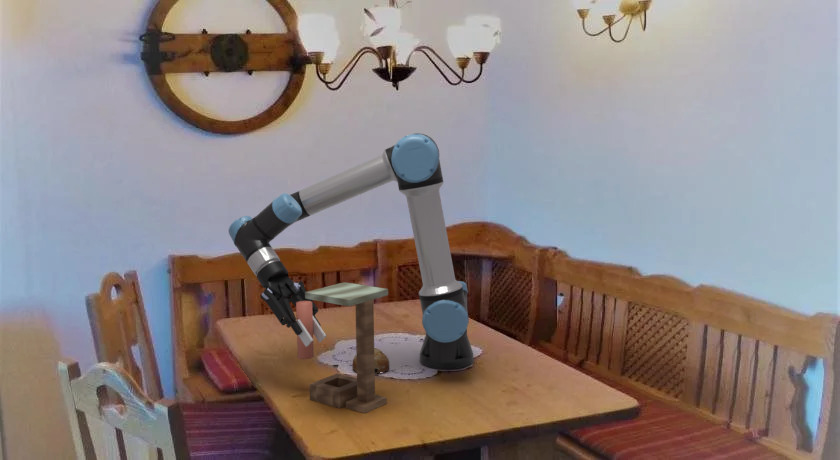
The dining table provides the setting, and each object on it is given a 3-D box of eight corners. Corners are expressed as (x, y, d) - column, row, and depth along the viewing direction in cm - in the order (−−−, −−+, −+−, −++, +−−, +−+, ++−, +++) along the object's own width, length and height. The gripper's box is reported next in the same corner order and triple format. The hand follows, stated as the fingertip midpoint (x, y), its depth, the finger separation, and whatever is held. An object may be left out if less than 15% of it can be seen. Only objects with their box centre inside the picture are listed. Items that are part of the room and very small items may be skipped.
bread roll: (355, 387, 216) (356, 365, 212) (348, 361, 224) (350, 340, 220) (390, 384, 218) (393, 362, 214) (382, 358, 227) (385, 337, 222)
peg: (315, 354, 204) (314, 301, 202) (310, 359, 200) (308, 304, 198) (301, 353, 205) (299, 300, 203) (295, 358, 201) (293, 304, 199)
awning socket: (303, 402, 195) (300, 291, 191) (342, 386, 206) (340, 281, 202) (356, 417, 185) (354, 300, 181) (394, 399, 196) (392, 289, 192)
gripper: (285, 272, 215) (332, 341, 208) (236, 283, 202) (284, 358, 195) (299, 254, 212) (347, 325, 204) (249, 264, 198) (298, 340, 191)
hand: (316, 341), depth 199 cm, fingers closed on peg, 4 cm apart
